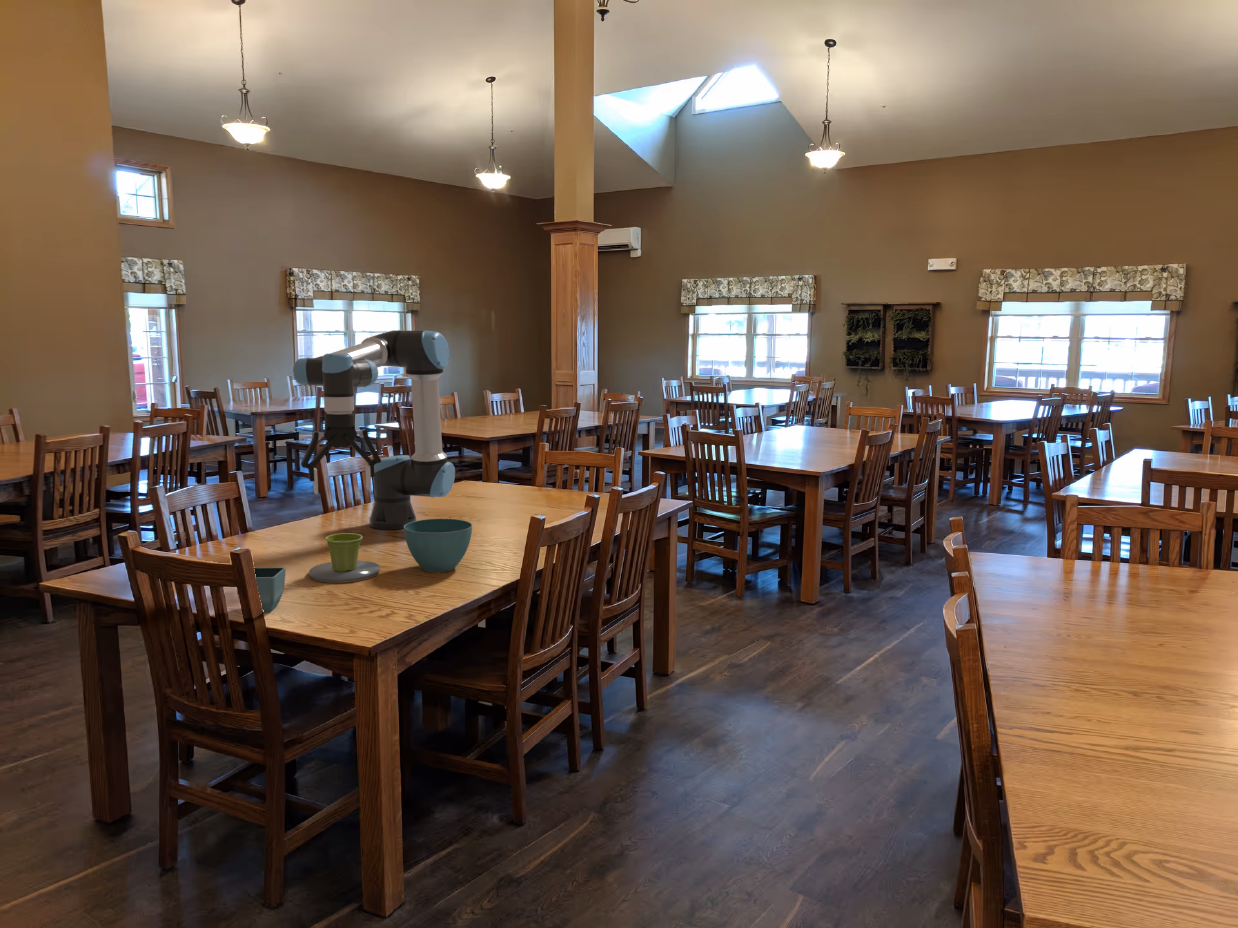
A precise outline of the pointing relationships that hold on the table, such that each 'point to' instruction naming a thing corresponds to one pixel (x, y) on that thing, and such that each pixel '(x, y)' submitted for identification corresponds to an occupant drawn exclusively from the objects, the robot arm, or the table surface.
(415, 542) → the teal bowl
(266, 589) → the flower pot
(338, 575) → the trivet
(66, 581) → the table surface
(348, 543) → the plant pot
